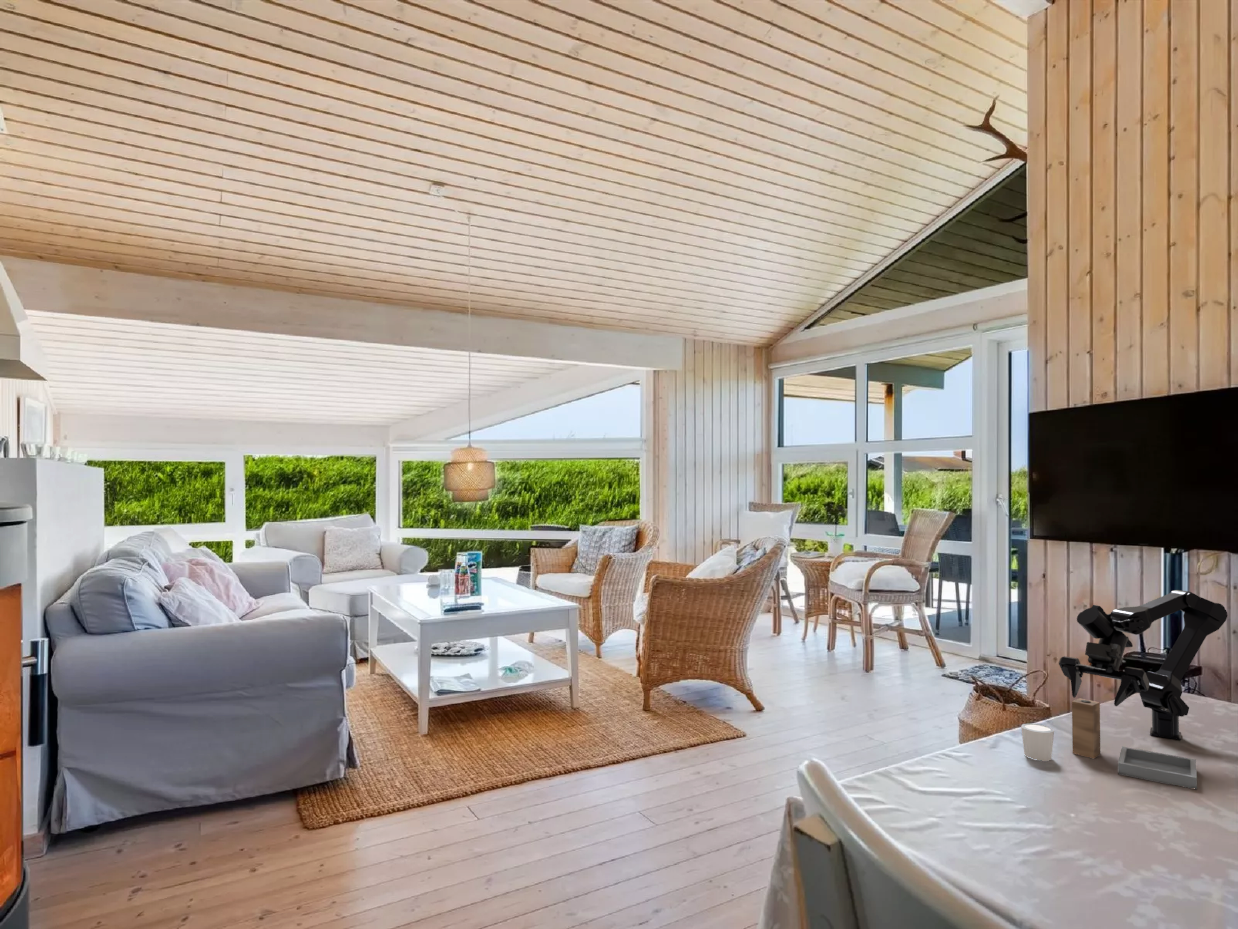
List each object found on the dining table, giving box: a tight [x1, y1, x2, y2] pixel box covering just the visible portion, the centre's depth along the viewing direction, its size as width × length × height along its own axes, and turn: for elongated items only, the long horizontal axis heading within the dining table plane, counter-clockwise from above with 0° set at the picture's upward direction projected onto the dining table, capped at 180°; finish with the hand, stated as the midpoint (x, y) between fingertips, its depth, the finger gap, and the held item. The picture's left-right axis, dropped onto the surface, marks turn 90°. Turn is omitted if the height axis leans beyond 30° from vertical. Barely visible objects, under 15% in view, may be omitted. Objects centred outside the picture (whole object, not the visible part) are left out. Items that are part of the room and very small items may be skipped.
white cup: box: [1020, 723, 1055, 762], centre depth 178 cm, size 7×7×7 cm
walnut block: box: [1071, 697, 1101, 759], centre depth 180 cm, size 4×4×13 cm
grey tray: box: [1117, 745, 1198, 790], centre depth 168 cm, size 14×14×2 cm
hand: (1094, 700), depth 184 cm, fingers open, 9 cm apart
